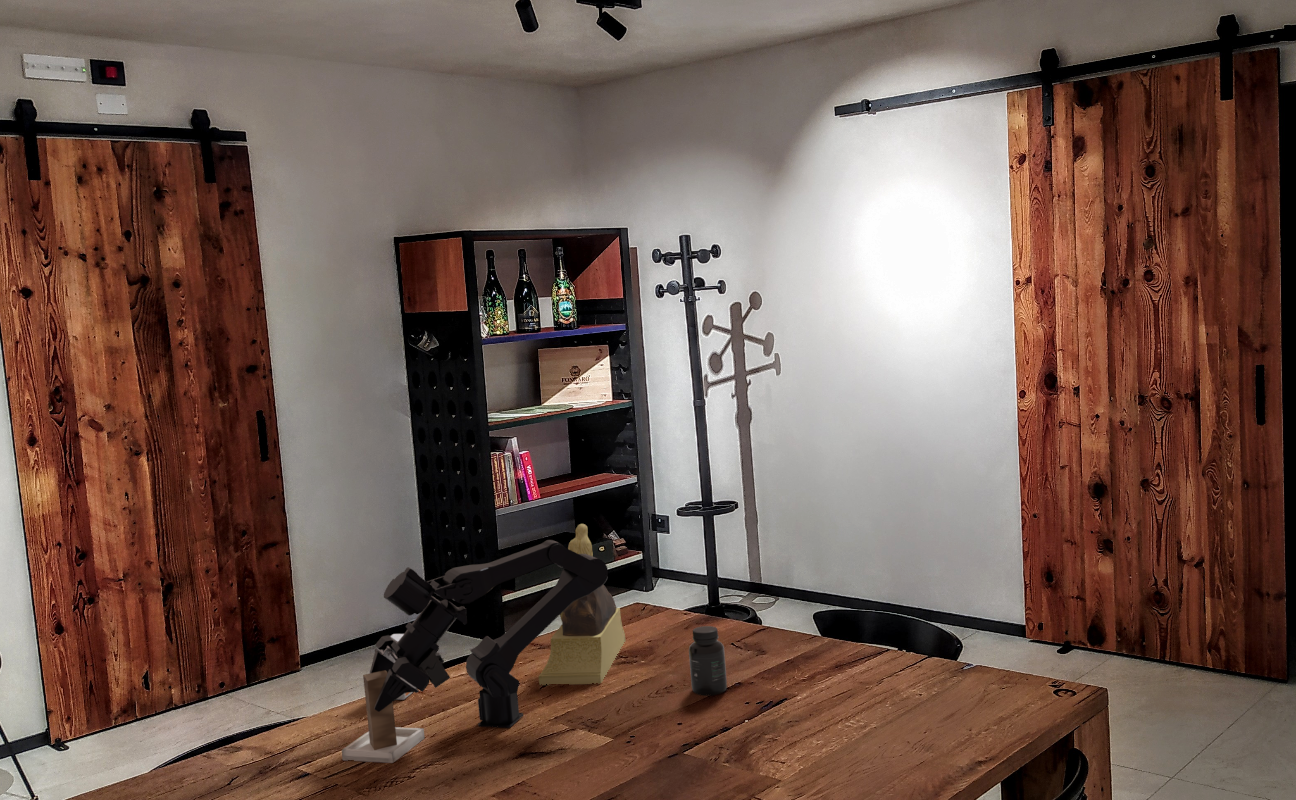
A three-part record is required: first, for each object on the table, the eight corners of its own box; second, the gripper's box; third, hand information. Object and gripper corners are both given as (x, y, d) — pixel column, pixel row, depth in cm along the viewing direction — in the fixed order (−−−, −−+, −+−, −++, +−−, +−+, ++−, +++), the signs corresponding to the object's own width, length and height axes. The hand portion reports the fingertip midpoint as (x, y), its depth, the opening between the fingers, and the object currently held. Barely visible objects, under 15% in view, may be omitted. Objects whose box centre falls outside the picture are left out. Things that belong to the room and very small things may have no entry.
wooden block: (392, 737, 197) (385, 670, 196) (397, 744, 193) (390, 676, 192) (369, 742, 195) (363, 674, 194) (374, 750, 192) (367, 680, 191)
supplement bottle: (685, 689, 212) (680, 629, 211) (714, 681, 216) (709, 622, 215) (704, 698, 206) (699, 636, 205) (734, 690, 210) (729, 629, 209)
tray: (424, 738, 198) (423, 728, 197) (392, 762, 187) (391, 752, 187) (376, 735, 201) (375, 726, 201) (342, 760, 190) (341, 750, 190)
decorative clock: (570, 643, 250) (559, 514, 248) (625, 642, 248) (614, 511, 245) (539, 685, 222) (526, 540, 220) (601, 684, 220) (588, 537, 218)
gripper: (475, 668, 191) (418, 743, 187) (448, 640, 208) (395, 708, 204) (426, 633, 187) (367, 710, 183) (403, 607, 204) (348, 676, 200)
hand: (371, 701), depth 193 cm, fingers open, 9 cm apart
